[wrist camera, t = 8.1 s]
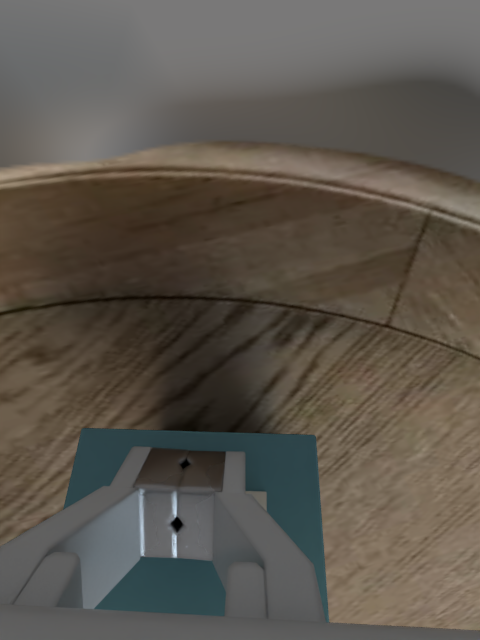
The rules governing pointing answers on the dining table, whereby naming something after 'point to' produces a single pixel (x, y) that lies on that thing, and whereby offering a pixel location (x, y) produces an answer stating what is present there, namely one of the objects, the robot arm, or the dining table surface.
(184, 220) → the dining table surface
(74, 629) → the robot arm
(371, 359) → the dining table surface
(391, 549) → the dining table surface
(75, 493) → the teal labeled box
